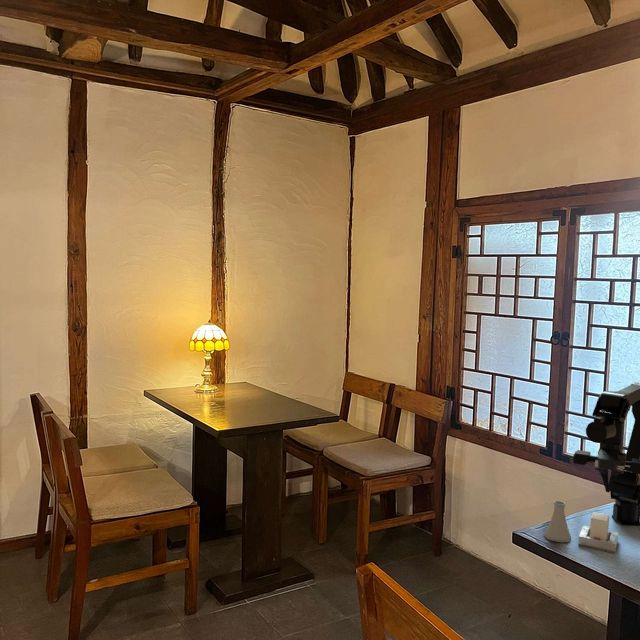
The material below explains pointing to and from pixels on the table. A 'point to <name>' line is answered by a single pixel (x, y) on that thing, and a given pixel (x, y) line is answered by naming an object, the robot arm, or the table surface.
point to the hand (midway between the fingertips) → (607, 492)
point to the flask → (558, 524)
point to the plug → (599, 526)
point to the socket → (598, 540)
